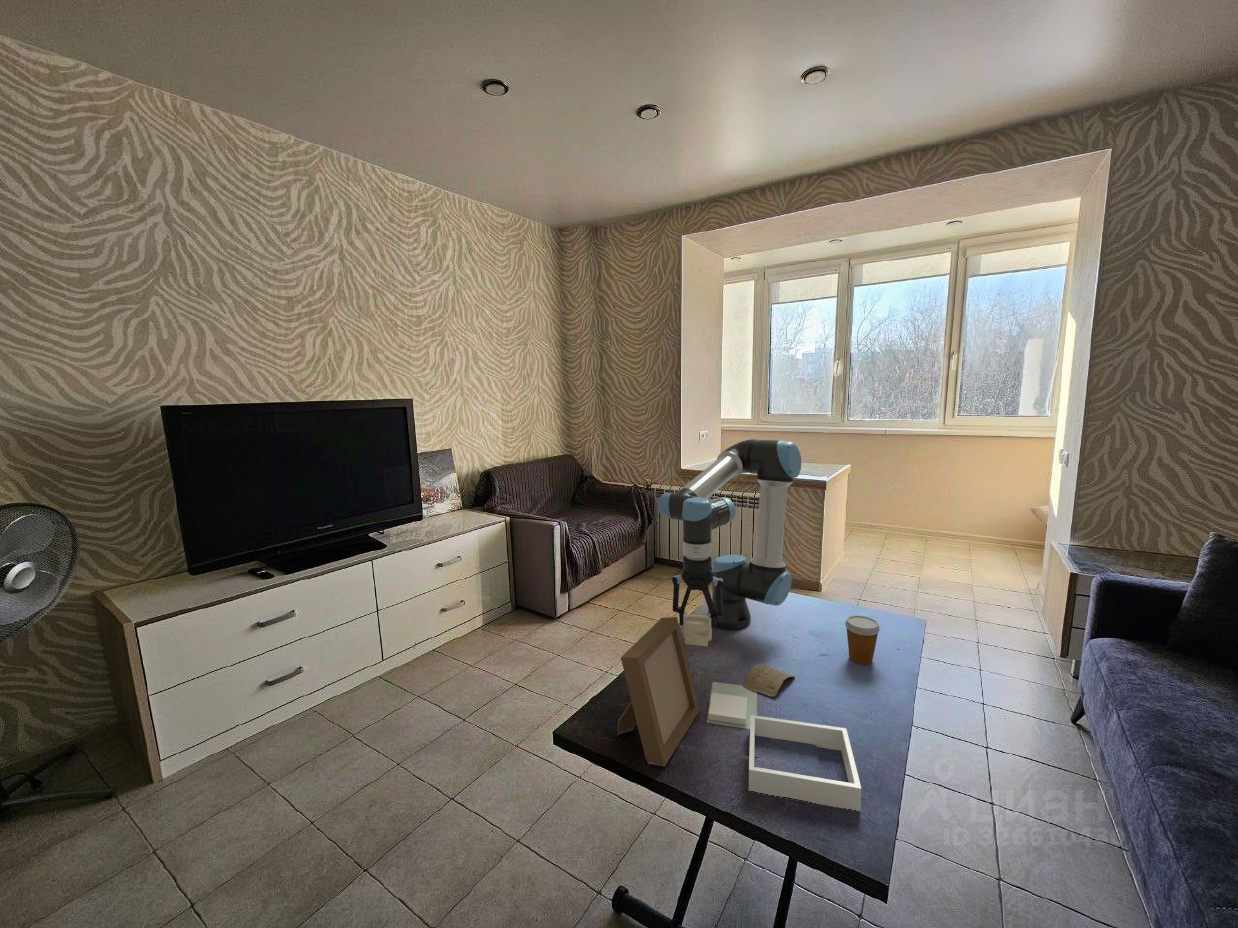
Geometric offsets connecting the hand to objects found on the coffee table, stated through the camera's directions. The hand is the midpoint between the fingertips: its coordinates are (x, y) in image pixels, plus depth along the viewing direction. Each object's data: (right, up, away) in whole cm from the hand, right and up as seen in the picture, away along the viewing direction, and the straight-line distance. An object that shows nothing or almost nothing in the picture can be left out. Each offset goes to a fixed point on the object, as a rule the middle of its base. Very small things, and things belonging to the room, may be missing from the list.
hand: (697, 636), depth 139 cm
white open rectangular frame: (+17, -19, -29) cm, 39 cm away
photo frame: (-13, -18, -16) cm, 27 cm away
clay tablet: (+20, -14, +3) cm, 25 cm away
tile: (+7, -14, -6) cm, 17 cm away
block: (0, -1, 0) cm, 1 cm away
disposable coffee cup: (+51, -12, +14) cm, 54 cm away
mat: (+8, -16, -7) cm, 19 cm away
